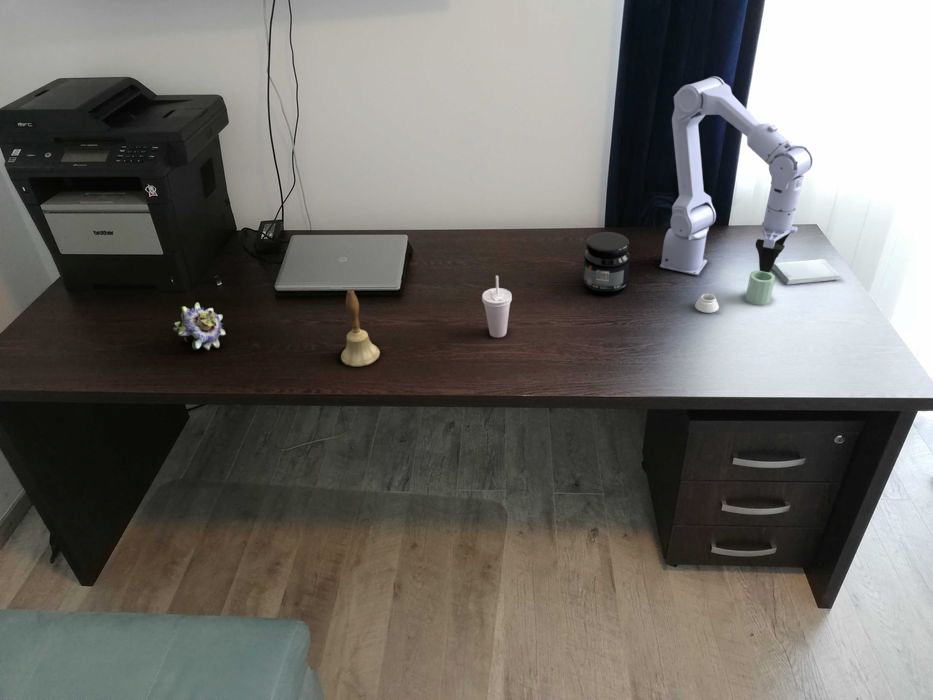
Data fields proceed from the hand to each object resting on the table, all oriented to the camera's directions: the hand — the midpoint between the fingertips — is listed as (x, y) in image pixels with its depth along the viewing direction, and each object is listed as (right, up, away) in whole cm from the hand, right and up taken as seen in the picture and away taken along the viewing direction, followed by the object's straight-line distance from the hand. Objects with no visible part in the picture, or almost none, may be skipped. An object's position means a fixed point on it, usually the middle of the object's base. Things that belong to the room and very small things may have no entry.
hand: (768, 263), depth 158 cm
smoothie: (-60, -16, 0) cm, 62 cm away
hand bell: (-89, -21, -4) cm, 92 cm away
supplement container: (-33, -4, +14) cm, 36 cm away
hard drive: (+14, -1, +13) cm, 19 cm away
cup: (0, -7, +6) cm, 9 cm away
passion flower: (-126, -18, +3) cm, 127 cm away
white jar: (-13, -10, +4) cm, 16 cm away
